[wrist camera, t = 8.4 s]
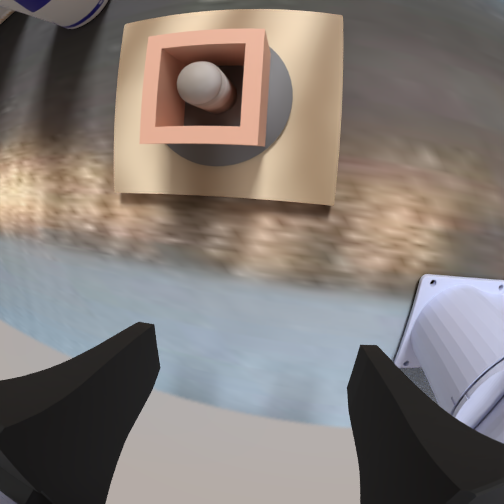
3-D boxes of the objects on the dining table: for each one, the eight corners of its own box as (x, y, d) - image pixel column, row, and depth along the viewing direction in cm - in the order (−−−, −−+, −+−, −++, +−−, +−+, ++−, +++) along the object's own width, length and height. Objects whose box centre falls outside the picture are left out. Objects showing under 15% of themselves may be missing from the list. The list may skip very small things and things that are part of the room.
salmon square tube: (270, 54, 15) (264, 28, 11) (265, 146, 16) (257, 145, 13) (176, 56, 15) (148, 36, 11) (170, 144, 17) (139, 144, 13)
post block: (340, 21, 14) (358, -24, 9) (331, 203, 18) (349, 227, 13) (131, 28, 16) (83, 0, 10) (121, 190, 20) (67, 208, 14)
